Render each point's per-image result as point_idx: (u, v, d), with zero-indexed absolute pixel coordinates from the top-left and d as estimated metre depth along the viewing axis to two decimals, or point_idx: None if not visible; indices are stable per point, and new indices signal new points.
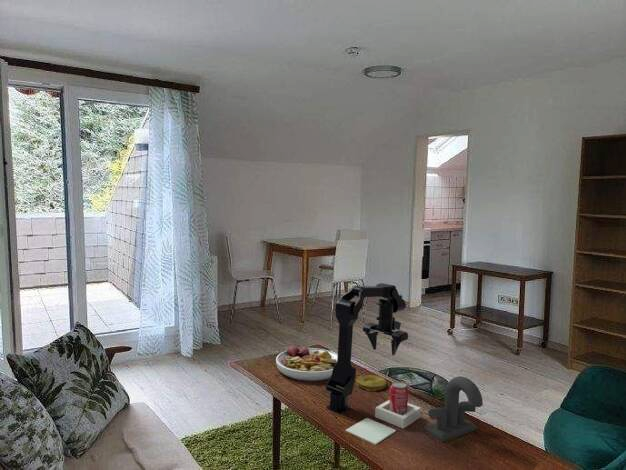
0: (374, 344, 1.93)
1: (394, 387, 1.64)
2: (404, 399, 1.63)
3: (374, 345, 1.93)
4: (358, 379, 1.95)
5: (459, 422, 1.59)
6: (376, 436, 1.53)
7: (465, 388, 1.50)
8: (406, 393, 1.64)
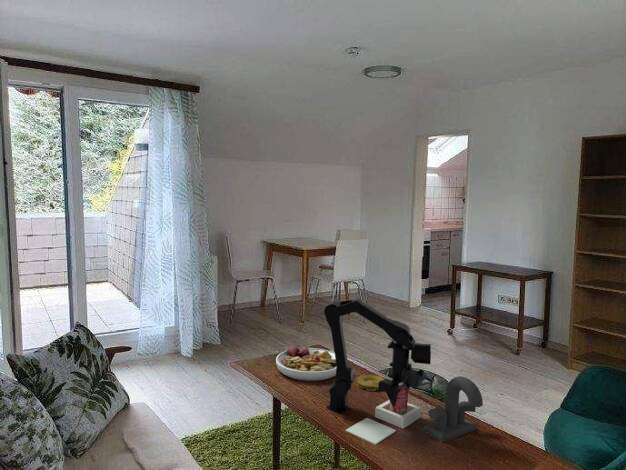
0: None
1: None
2: (404, 399, 1.63)
3: None
4: (358, 379, 1.95)
5: (459, 422, 1.59)
6: (376, 436, 1.53)
7: (465, 388, 1.50)
8: (406, 393, 1.64)
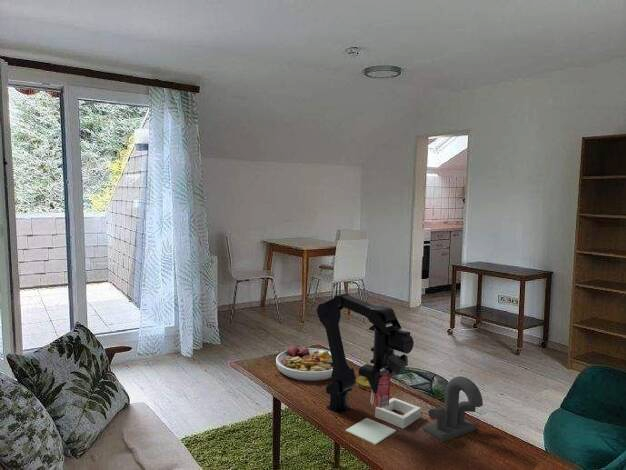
0: None
1: None
2: (386, 386, 1.55)
3: None
4: (358, 379, 1.95)
5: (459, 422, 1.59)
6: (376, 436, 1.53)
7: (465, 388, 1.50)
8: (388, 379, 1.55)
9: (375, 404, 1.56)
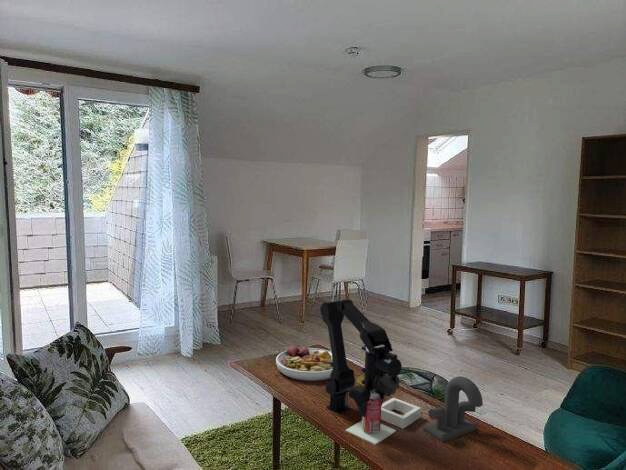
0: None
1: None
2: (377, 411, 1.53)
3: None
4: (358, 379, 1.95)
5: (459, 422, 1.59)
6: (376, 436, 1.53)
7: (465, 388, 1.50)
8: (379, 404, 1.53)
9: (366, 429, 1.54)
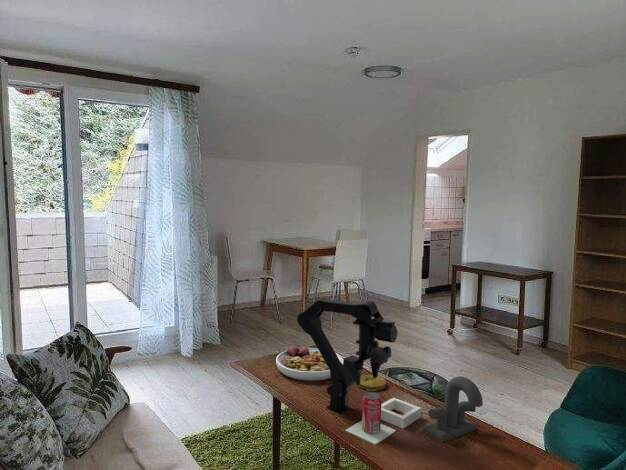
0: (373, 371, 1.68)
1: (367, 398, 1.54)
2: (377, 411, 1.53)
3: (373, 372, 1.68)
4: None
5: (459, 422, 1.59)
6: (376, 436, 1.53)
7: (465, 388, 1.50)
8: (379, 404, 1.53)
9: (366, 429, 1.54)
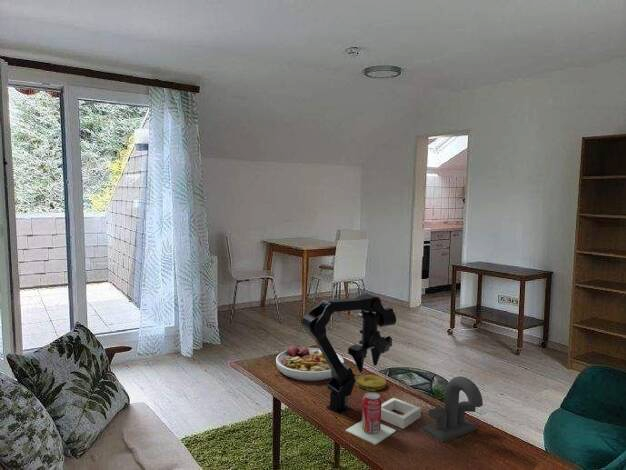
0: (374, 359, 1.80)
1: (366, 398, 1.54)
2: (377, 411, 1.53)
3: (373, 360, 1.80)
4: (358, 379, 1.95)
5: (459, 422, 1.59)
6: (376, 436, 1.53)
7: (465, 388, 1.50)
8: (379, 404, 1.53)
9: (366, 429, 1.54)
